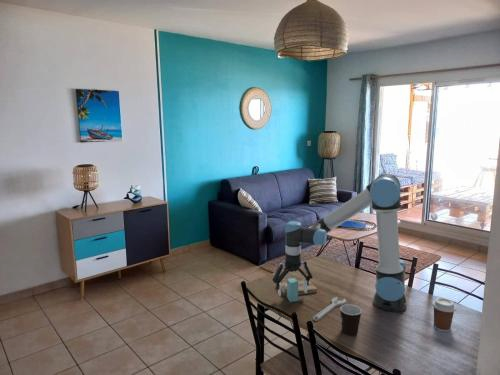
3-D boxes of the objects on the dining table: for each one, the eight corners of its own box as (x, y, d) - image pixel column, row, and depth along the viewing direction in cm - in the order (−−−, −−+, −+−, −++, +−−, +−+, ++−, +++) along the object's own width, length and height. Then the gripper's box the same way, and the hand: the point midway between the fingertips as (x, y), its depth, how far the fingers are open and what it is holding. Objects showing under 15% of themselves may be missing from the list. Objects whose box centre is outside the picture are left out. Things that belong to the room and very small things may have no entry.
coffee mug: (357, 339, 149) (358, 317, 147) (336, 333, 153) (337, 311, 152) (364, 326, 159) (365, 304, 157) (345, 320, 163) (346, 299, 161)
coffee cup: (441, 319, 163) (443, 294, 161) (459, 330, 155) (461, 304, 152) (425, 323, 160) (427, 298, 158) (442, 335, 152) (445, 308, 149)
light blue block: (297, 301, 181) (298, 282, 179) (290, 302, 180) (290, 283, 178) (290, 291, 191) (290, 273, 189) (282, 292, 190) (283, 274, 188)
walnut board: (317, 292, 189) (317, 288, 189) (284, 296, 185) (284, 292, 185) (308, 282, 201) (308, 279, 200) (276, 286, 197) (277, 282, 196)
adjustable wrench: (316, 322, 162) (317, 319, 162) (305, 317, 167) (305, 313, 167) (347, 303, 179) (348, 299, 179) (336, 298, 184) (336, 295, 183)
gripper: (313, 248, 185) (312, 287, 188) (266, 252, 179) (266, 292, 183) (319, 253, 177) (318, 293, 181) (270, 258, 172) (270, 299, 175)
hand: (292, 293), depth 182 cm, fingers open, 13 cm apart
